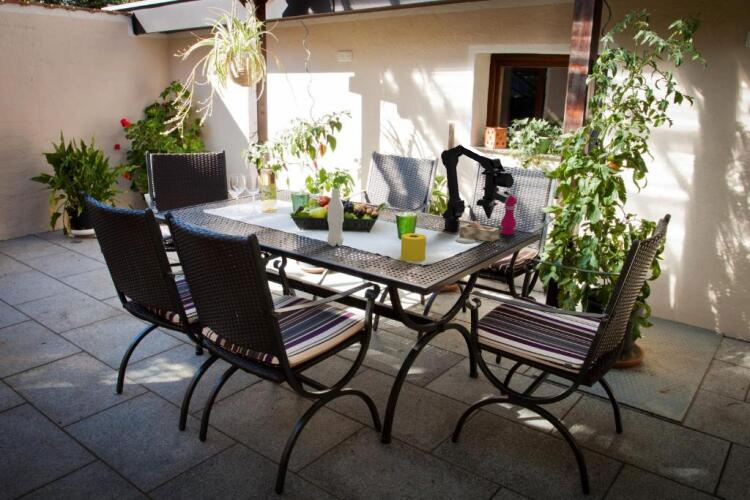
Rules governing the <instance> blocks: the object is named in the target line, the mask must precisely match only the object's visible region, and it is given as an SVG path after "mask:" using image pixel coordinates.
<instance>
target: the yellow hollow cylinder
mask: <svg viewBox="0 0 750 500" xmlns="http://www.w3.org/2000/svg"><path fill="white" fill-rule="evenodd" d="M400 240H401V242H400V245H401V246H400V248H401V249H400V259H401V260H402V261H404V262H409V261H411V263H417V261H419V262H423V261H425V260H426V246H427V245H426V244H427V243H426V242H427V236H426V235H424V234H422V233H416V232H415V233H413V232H412V233H411V232H410V233H404V234H402V235H401V238H400Z"/></svg>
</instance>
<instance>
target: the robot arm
mask: <svg viewBox="0 0 750 500" xmlns="http://www.w3.org/2000/svg"><path fill="white" fill-rule="evenodd" d="M463 155H464V156H466V157H468V158H469V159H470V160H473V161H475V162H477V163H478V164H480V166H481V168H483V169H484V170H483V171H482V172H481V174H480V175H484V186H483V187H482V191H484V192H483V195H482V197H481V198H479V199H477V200H476V206H478V207H482V209H483V211H484V213H485V216H486V219H488V220H489V219H491V218H492V214H493V211H494V210H495V207H496V206H497V205H499V203H498V202H500V203H501V204H505V202H507V200H508V199H509V196H510V195H509V193H510V191H508V190H505V191H500V188H506V189H510V188H512V187H513V186H514V181H515V180H514V177H513V175H512V172H506V170H505V168H504V167H503V165H502V162H501V159H500V158H499V157H496V156H493V155H487V154H484V153H483V152H481V151H478V150H477V149H474V148H473V147H471V146H469V145H468V144H467V143H465V144H463V143H462V144H458V145H457V146H453V147H452V148H449V149H444V150H443V151H442V152H441V153H440V160H441V162H442V165H443V166H444V168H445V170H446V171H445V172H446V179H447V187H448V188H447V190H448V201H447V203H446V210H445V211H444V212H443V213H442V219H444V228H443V229H442V230H443V231H446V232H451V233H452V232H453V233H456V232H458V231H460V226H461V221H460V218H462V217H463V214H464V213H465V211H466V210H465V209H466V205H465V204H466V203H465V199H463V200H462V199H461V196H460V189H459V178H458V171H457V167H458V164H459V161H460V160H459V158H460V157H461V156H463ZM499 187H500V188H499ZM496 201H498V202H496Z"/></svg>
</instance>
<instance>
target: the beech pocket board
mask: <svg viewBox="0 0 750 500" xmlns="http://www.w3.org/2000/svg"><path fill="white" fill-rule="evenodd" d="M471 224H472V223H464V224H462V225H460V230H459V238H460V237H468V238H473V239H475V240H480V241H485V242H492V243H493V242H495V241H496V240H499V237H500V236H499V233H500V228H499V227H494V226H487V225H481V226H482V227H483V228H484V229H478V228H472V227H471V226H470V225H471Z"/></svg>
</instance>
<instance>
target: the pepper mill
mask: <svg viewBox="0 0 750 500" xmlns="http://www.w3.org/2000/svg"><path fill="white" fill-rule="evenodd" d="M509 195H510V196H509V199H508V200H507V202H505V203H504V209H505V210H504V216H503V218H502V219H501V222H500V226H501V233H502V234H503V235H514V234H515V227H516V226H517V221H516V218H515V215H514V210H516V204H517V200H518V199H517V198H516V196H514V194H513V192H511V191H509Z"/></svg>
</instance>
